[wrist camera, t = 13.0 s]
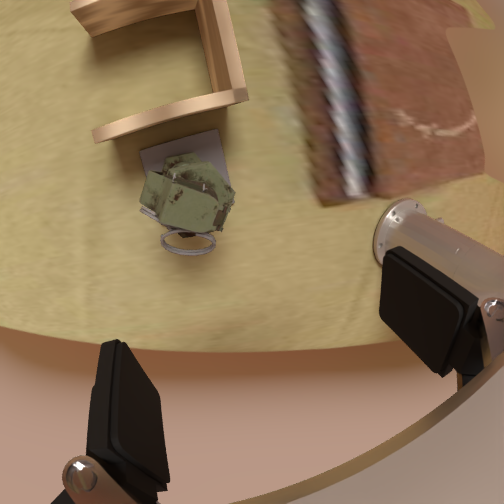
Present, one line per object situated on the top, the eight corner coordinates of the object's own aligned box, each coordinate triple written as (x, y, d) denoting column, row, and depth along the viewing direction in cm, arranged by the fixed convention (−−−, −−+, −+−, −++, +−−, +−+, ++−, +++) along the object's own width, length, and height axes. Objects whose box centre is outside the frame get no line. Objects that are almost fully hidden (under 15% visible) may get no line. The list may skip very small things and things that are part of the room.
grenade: (158, 140, 29) (157, 147, 16) (215, 159, 32) (257, 182, 18) (137, 203, 31) (124, 259, 18) (192, 219, 34) (218, 281, 21)
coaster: (216, 128, 31) (217, 128, 30) (233, 201, 35) (234, 202, 34) (139, 150, 29) (138, 151, 29) (161, 223, 33) (161, 225, 33)
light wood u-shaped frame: (203, -1, 23) (217, -36, 15) (227, 106, 30) (248, 100, 22) (90, 29, 21) (69, 1, 13) (113, 139, 28) (94, 143, 20)
